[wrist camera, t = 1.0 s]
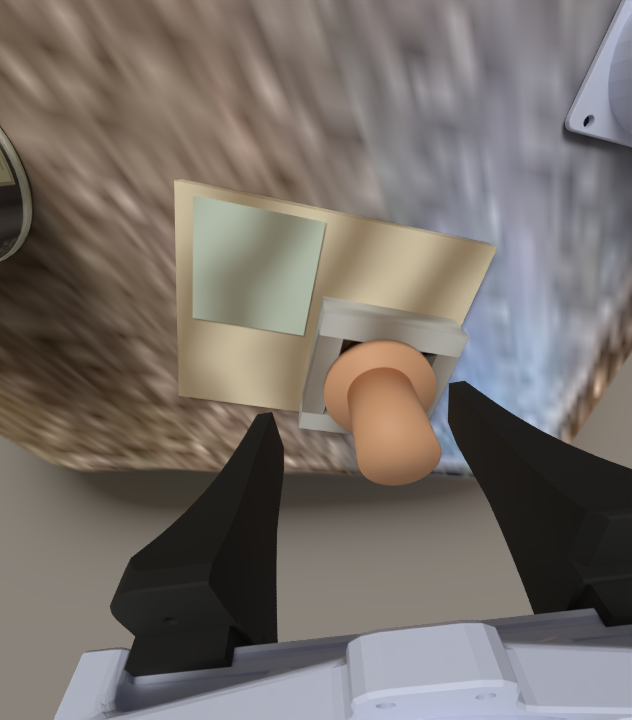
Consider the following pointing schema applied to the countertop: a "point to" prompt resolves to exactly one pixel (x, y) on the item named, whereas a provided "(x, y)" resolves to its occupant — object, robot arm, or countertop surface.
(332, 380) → the end cover
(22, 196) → the coffee can
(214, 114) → the countertop surface
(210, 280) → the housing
